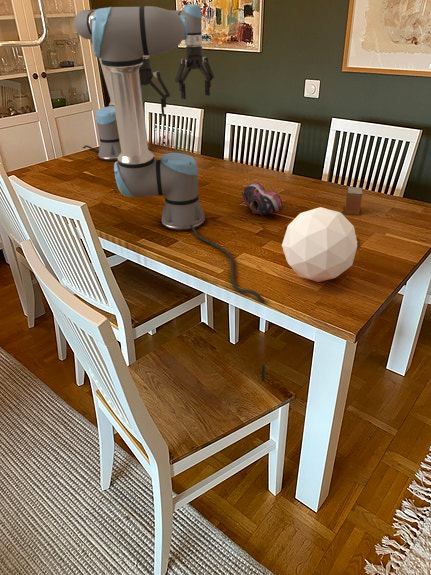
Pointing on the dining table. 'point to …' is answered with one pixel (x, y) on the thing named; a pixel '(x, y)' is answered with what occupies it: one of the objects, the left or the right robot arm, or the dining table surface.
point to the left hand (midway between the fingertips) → (195, 97)
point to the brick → (353, 200)
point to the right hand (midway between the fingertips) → (146, 117)
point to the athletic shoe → (261, 200)
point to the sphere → (320, 244)
